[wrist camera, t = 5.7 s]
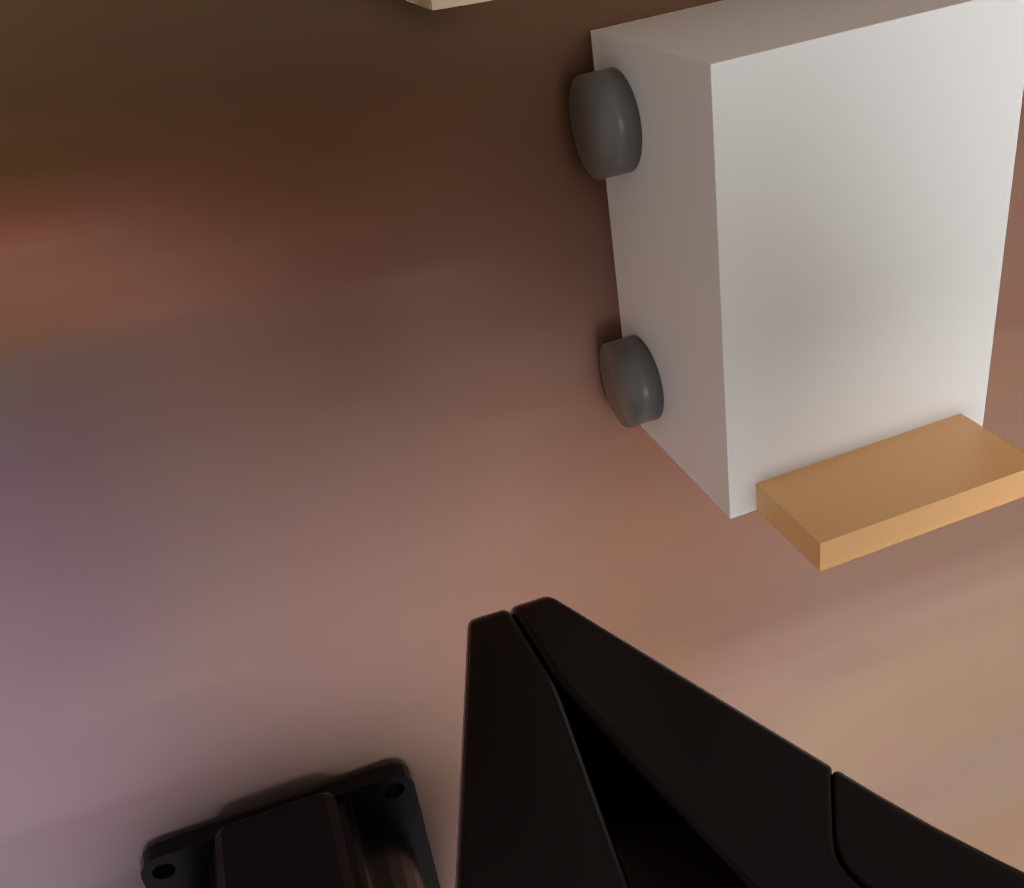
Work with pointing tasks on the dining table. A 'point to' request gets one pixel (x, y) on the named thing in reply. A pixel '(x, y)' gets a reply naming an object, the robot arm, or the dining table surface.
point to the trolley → (812, 254)
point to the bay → (443, 3)
